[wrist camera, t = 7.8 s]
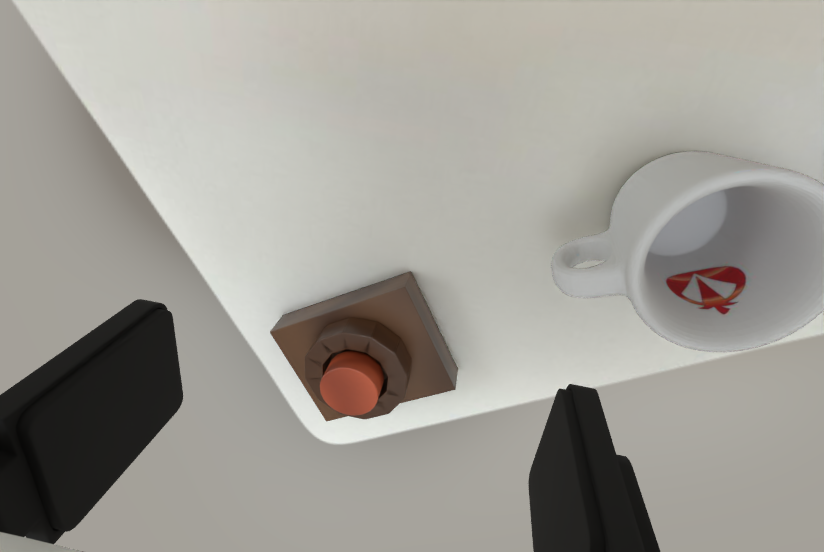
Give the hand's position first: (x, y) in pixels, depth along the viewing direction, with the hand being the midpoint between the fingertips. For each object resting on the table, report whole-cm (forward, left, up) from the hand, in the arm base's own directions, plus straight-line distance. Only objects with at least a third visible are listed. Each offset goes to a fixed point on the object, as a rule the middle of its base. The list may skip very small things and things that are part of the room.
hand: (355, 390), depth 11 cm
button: (+3, +11, -14) cm, 19 cm away
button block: (+3, +11, -18) cm, 21 cm away
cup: (-11, 0, -18) cm, 21 cm away
